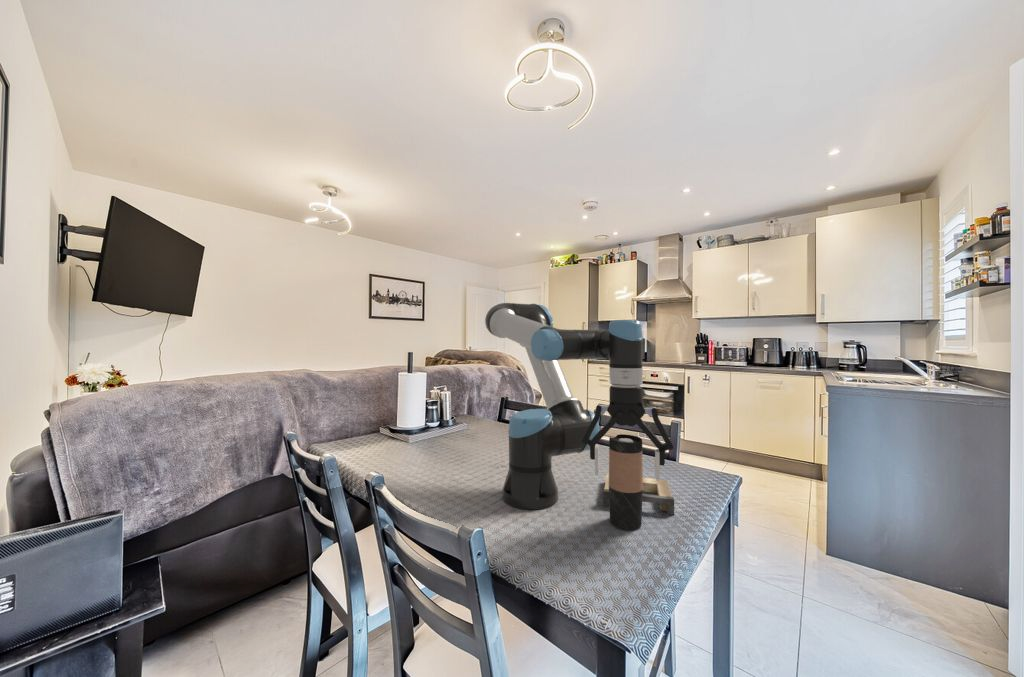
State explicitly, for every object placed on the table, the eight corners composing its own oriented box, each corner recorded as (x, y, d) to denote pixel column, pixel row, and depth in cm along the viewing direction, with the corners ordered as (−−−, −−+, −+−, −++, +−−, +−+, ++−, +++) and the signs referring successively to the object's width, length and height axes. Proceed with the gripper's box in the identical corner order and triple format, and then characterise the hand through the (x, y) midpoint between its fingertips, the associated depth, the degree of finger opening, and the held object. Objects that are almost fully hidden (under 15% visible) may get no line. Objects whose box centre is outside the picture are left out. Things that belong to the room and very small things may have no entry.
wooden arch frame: (603, 505, 97) (603, 491, 97) (606, 481, 113) (606, 469, 113) (674, 514, 92) (674, 499, 92) (667, 488, 108) (667, 475, 108)
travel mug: (644, 533, 83) (645, 443, 83) (609, 529, 85) (609, 441, 85) (640, 516, 91) (640, 435, 91) (607, 513, 92) (608, 433, 92)
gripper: (570, 385, 88) (571, 475, 88) (686, 389, 81) (687, 487, 80) (574, 382, 95) (575, 465, 95) (681, 385, 88) (682, 475, 87)
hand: (626, 476), depth 88 cm, fingers open, 13 cm apart
